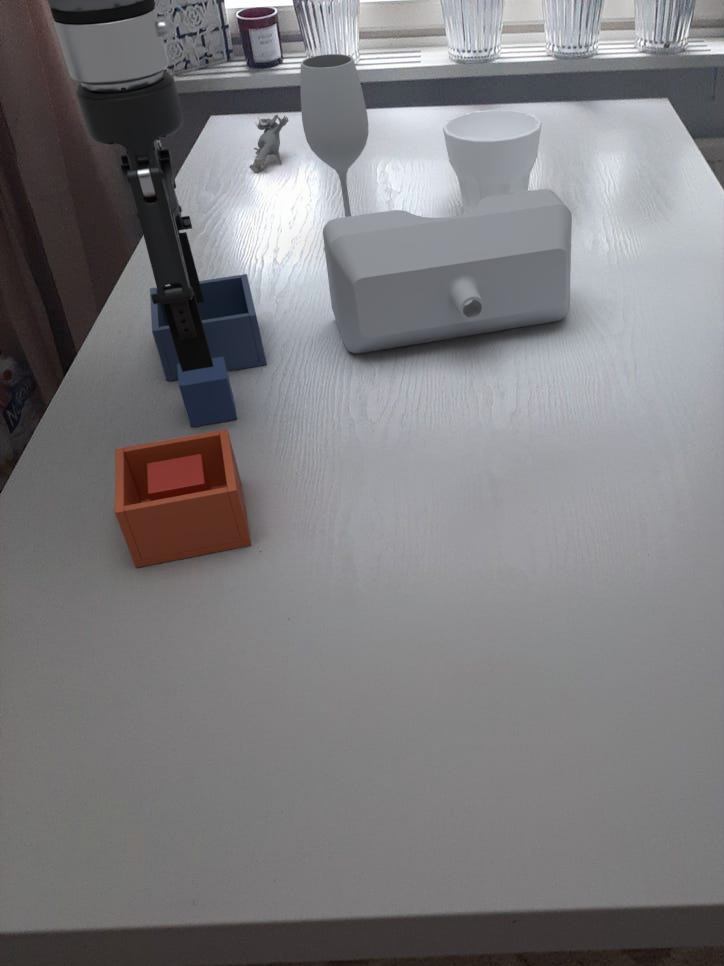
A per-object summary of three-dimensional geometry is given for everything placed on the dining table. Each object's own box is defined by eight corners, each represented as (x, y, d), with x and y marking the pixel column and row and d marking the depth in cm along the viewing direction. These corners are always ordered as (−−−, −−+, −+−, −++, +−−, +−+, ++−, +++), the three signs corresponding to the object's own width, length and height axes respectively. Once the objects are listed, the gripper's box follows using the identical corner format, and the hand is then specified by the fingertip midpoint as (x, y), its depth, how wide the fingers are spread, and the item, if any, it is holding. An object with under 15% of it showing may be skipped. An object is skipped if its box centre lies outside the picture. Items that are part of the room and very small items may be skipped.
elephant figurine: (225, 171, 146) (246, 131, 150) (259, 197, 149) (279, 157, 153) (254, 134, 139) (275, 92, 142) (289, 162, 142) (309, 120, 145)
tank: (356, 386, 98) (338, 265, 89) (333, 318, 109) (315, 204, 101) (590, 347, 102) (595, 227, 93) (544, 285, 113) (545, 172, 104)
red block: (163, 537, 80) (147, 493, 77) (161, 507, 83) (146, 463, 80) (217, 527, 81) (204, 482, 78) (213, 497, 84) (201, 453, 81)
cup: (493, 190, 136) (490, 103, 128) (560, 210, 129) (562, 120, 121) (429, 217, 129) (422, 127, 122) (496, 240, 123) (493, 147, 115)
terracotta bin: (135, 568, 79) (114, 512, 75) (134, 502, 85) (115, 448, 81) (251, 545, 80) (236, 489, 76) (241, 483, 87) (227, 428, 83)
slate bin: (166, 381, 100) (151, 330, 97) (163, 337, 108) (149, 288, 104) (266, 364, 102) (256, 314, 98) (257, 322, 109) (246, 273, 106)
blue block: (190, 427, 94) (178, 386, 91) (188, 404, 97) (176, 363, 94) (237, 419, 94) (226, 377, 91) (233, 397, 98) (223, 356, 94)
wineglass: (384, 234, 126) (364, 50, 111) (379, 258, 120) (356, 68, 106) (327, 236, 126) (299, 53, 112) (318, 261, 121) (288, 71, 106)
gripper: (178, 116, 67) (246, 390, 82) (166, 35, 84) (224, 273, 99) (66, 130, 66) (155, 406, 81) (78, 46, 83) (150, 285, 98)
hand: (193, 333), depth 90 cm, fingers open, 13 cm apart
